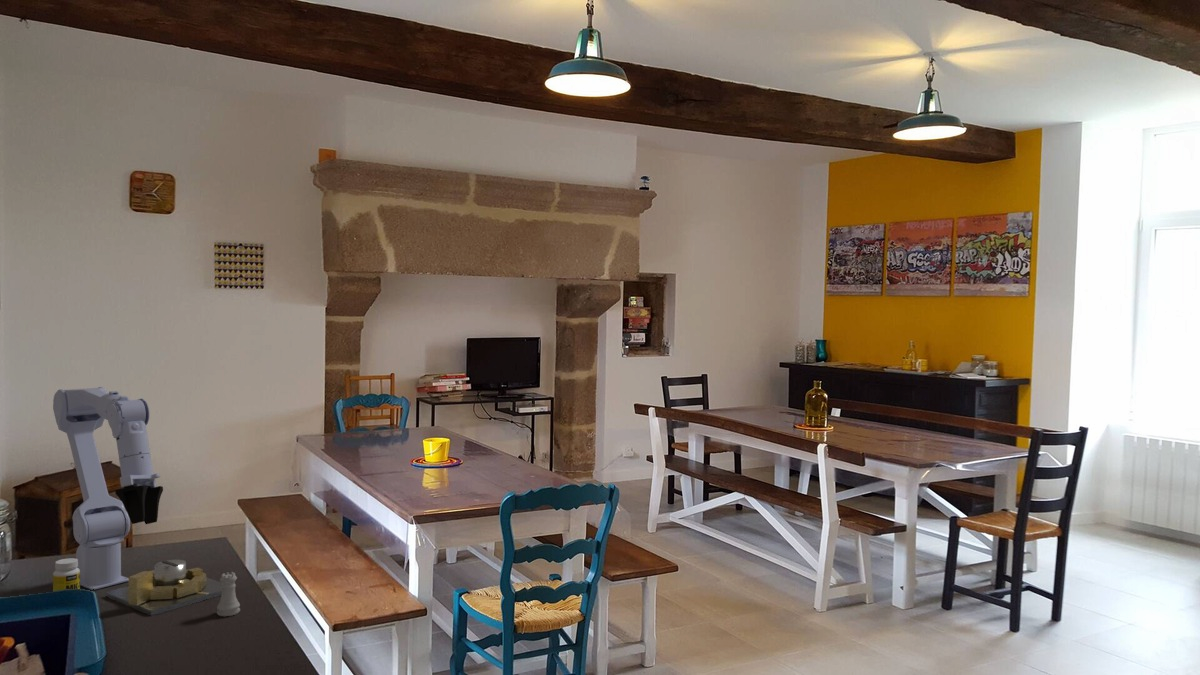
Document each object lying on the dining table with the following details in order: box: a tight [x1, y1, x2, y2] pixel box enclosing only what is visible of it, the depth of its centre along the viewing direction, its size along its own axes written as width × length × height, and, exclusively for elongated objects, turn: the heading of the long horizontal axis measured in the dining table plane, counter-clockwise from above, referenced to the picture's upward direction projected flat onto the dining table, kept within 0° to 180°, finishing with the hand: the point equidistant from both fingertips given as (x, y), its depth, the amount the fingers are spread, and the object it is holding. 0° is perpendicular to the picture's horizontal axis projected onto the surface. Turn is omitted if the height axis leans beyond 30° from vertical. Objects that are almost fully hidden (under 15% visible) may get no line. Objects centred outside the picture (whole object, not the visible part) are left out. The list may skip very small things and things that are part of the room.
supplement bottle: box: [52, 557, 81, 592], centre depth 180 cm, size 5×5×8 cm
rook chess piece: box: [216, 571, 241, 618], centre depth 175 cm, size 4×4×8 cm
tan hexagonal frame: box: [128, 567, 207, 606], centre depth 183 cm, size 13×17×6 cm
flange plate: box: [104, 559, 222, 617], centre depth 185 cm, size 18×18×7 cm
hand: (144, 522), depth 177 cm, fingers open, 7 cm apart
